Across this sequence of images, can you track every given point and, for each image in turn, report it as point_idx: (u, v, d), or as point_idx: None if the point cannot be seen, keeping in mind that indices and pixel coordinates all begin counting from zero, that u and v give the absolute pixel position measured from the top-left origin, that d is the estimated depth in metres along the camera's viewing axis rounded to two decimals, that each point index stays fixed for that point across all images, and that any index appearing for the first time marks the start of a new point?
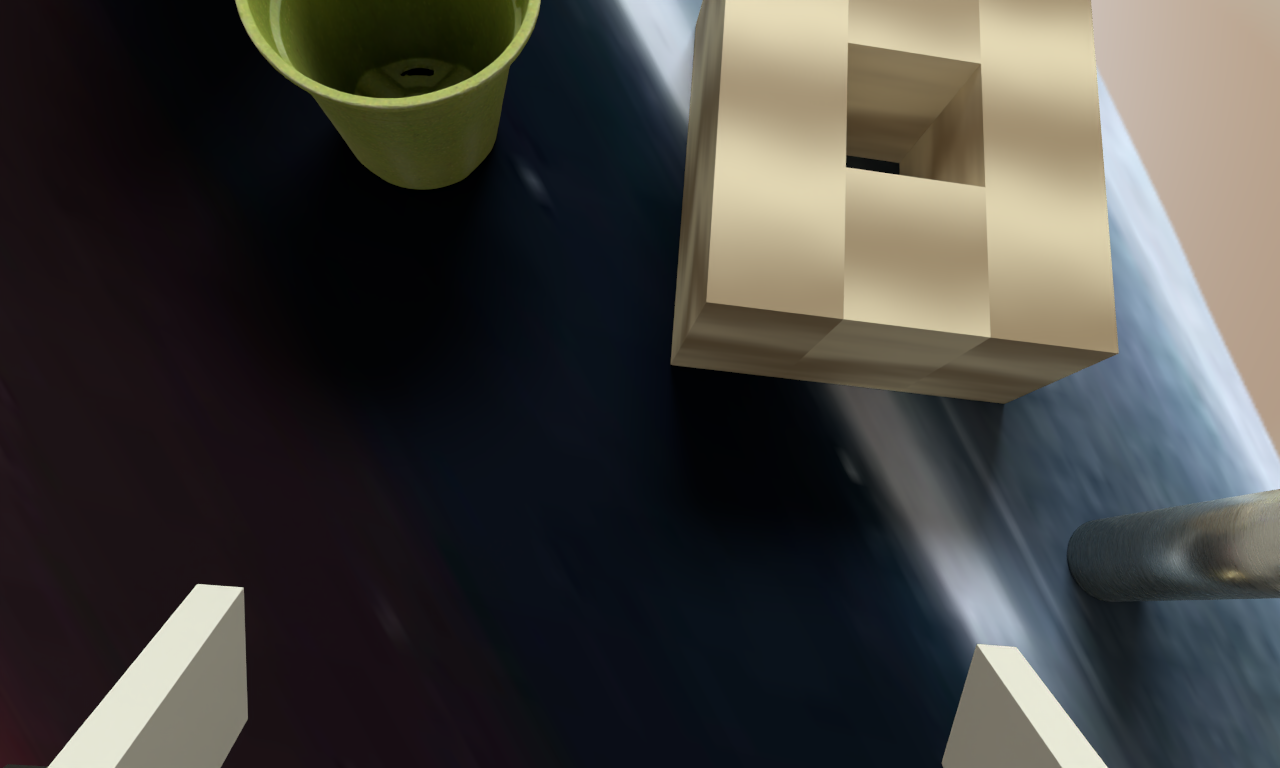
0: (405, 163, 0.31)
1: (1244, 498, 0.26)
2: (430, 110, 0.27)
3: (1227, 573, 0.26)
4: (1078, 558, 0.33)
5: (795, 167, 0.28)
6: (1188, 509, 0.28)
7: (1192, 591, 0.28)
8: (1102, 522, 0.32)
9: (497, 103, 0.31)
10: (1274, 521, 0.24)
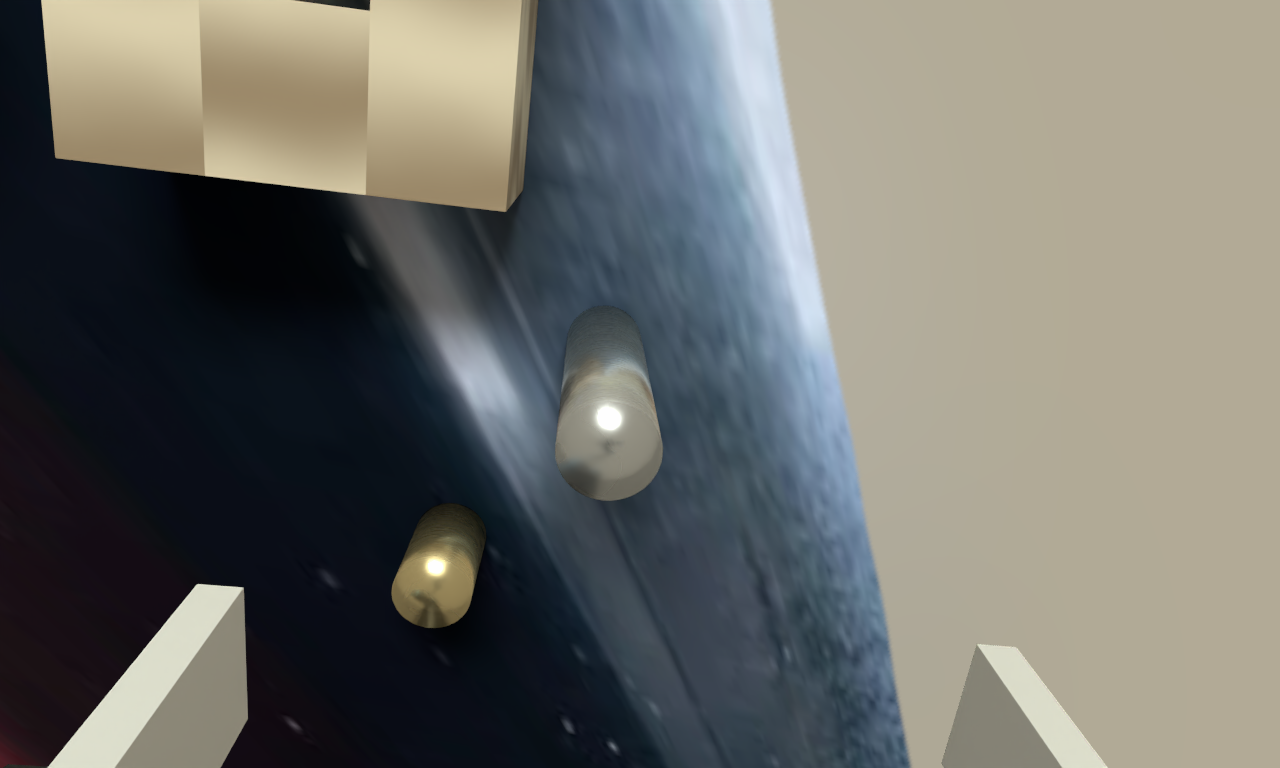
0: None
1: (585, 366, 0.28)
2: None
3: None
4: None
5: None
6: (582, 349, 0.30)
7: None
8: (584, 318, 0.35)
9: None
10: (561, 407, 0.27)
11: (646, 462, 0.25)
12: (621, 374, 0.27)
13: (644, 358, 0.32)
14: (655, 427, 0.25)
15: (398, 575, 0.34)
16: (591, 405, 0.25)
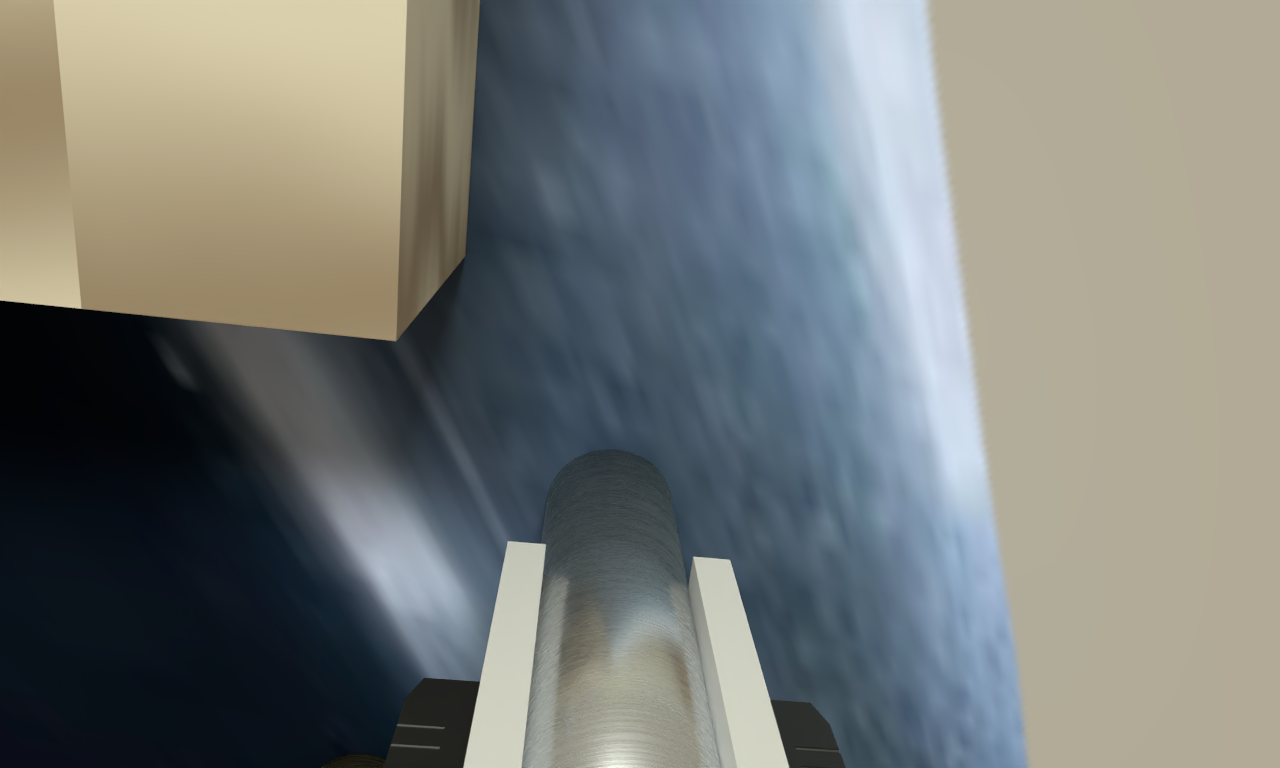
0: None
1: (570, 661, 0.13)
2: None
3: None
4: None
5: None
6: (567, 588, 0.15)
7: None
8: (575, 482, 0.20)
9: None
10: None
11: None
12: (649, 706, 0.12)
13: (685, 582, 0.17)
14: None
15: None
16: None
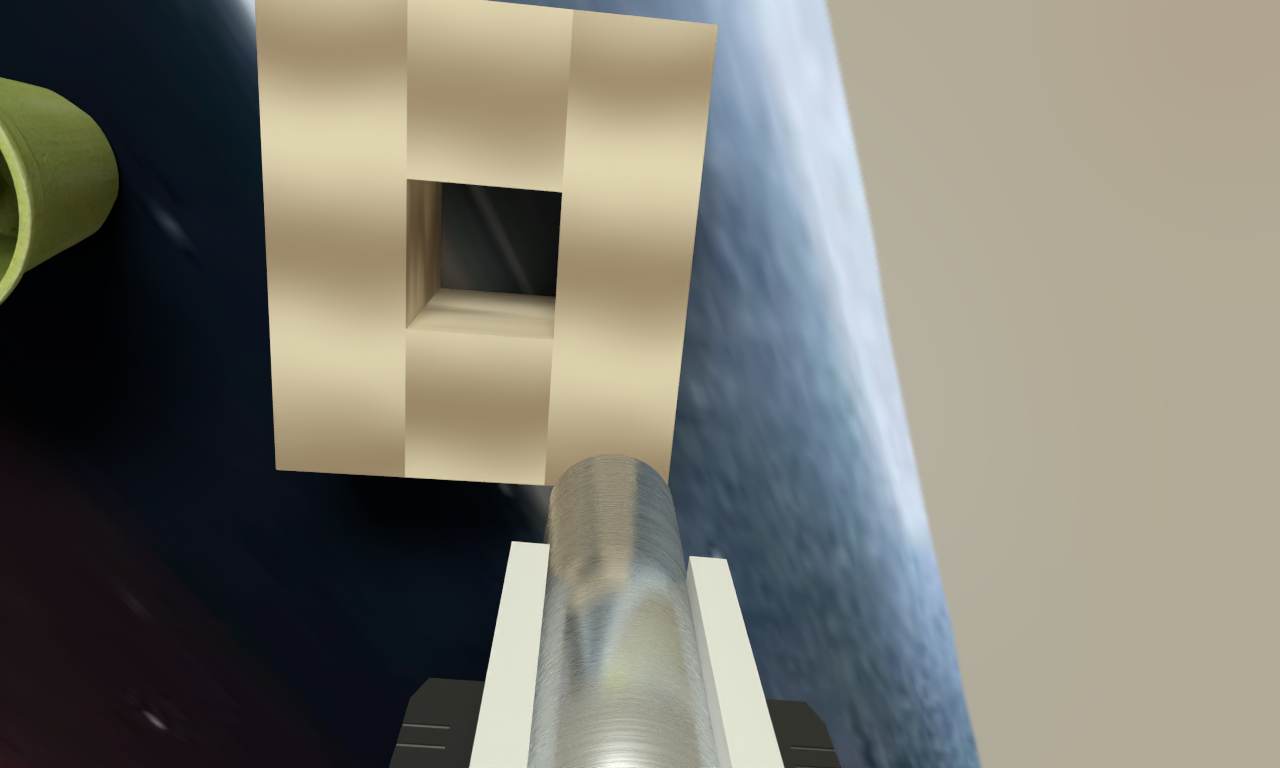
0: None
1: (570, 669, 0.13)
2: None
3: None
4: None
5: (353, 333, 0.29)
6: (567, 594, 0.15)
7: None
8: (575, 487, 0.20)
9: (71, 219, 0.30)
10: None
11: None
12: (650, 715, 0.12)
13: None
14: None
15: None
16: None
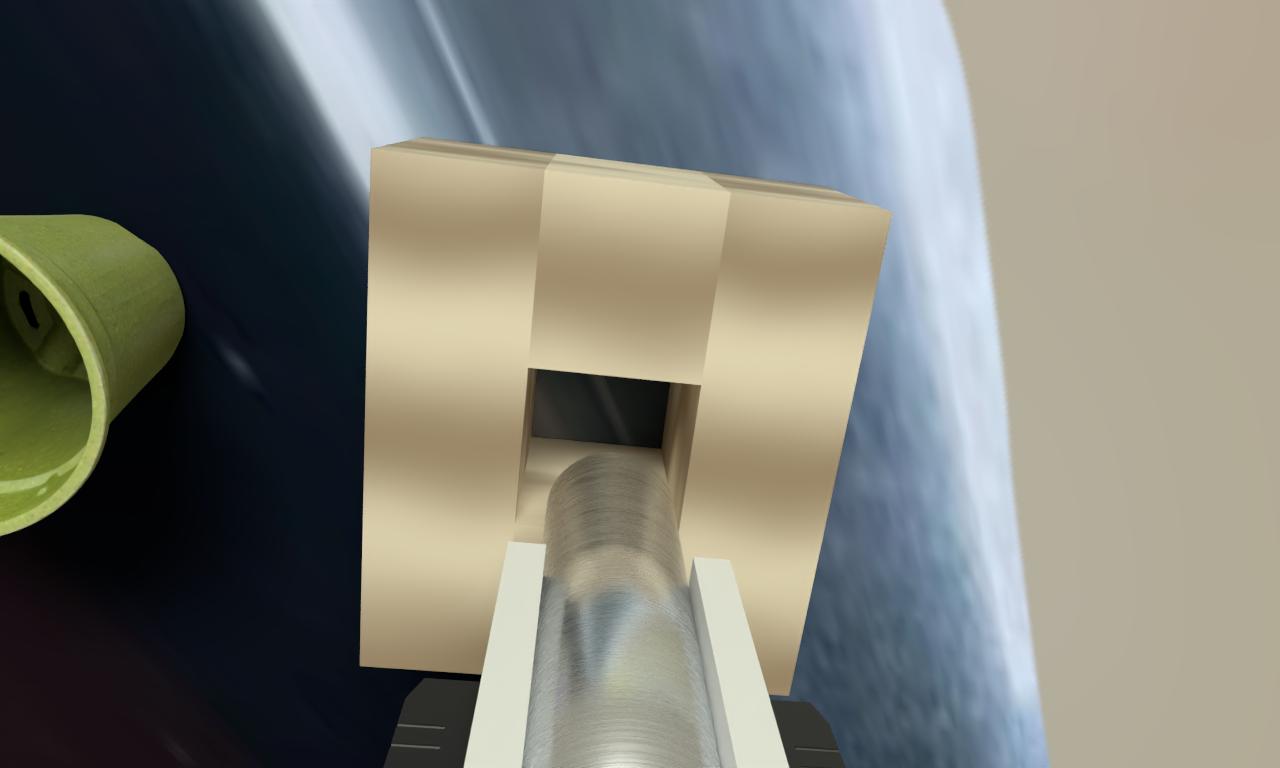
0: None
1: (569, 669, 0.13)
2: None
3: None
4: None
5: (456, 527, 0.25)
6: (566, 594, 0.15)
7: None
8: (574, 486, 0.19)
9: (138, 381, 0.26)
10: None
11: None
12: (649, 715, 0.12)
13: (686, 586, 0.17)
14: None
15: None
16: None
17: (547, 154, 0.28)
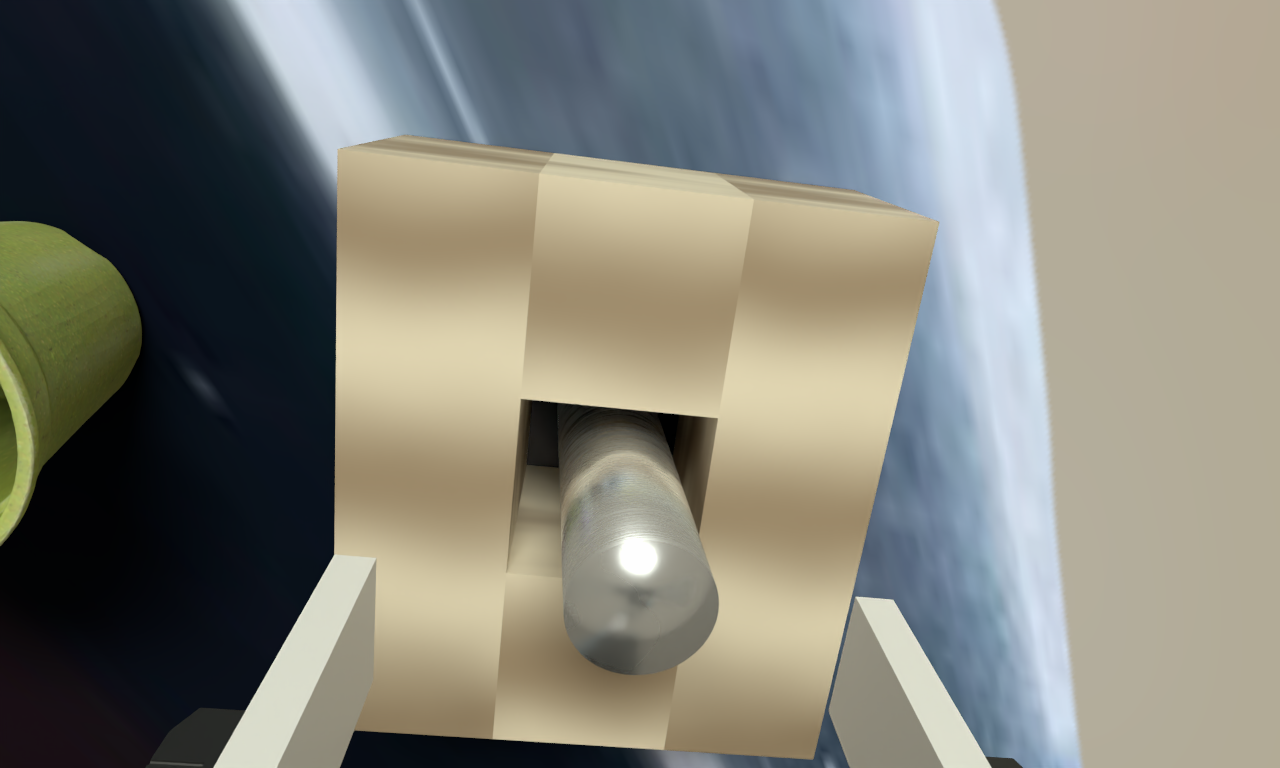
0: None
1: (594, 467, 0.20)
2: None
3: None
4: (557, 412, 0.28)
5: (440, 576, 0.22)
6: (585, 435, 0.23)
7: None
8: None
9: (83, 410, 0.23)
10: (565, 533, 0.19)
11: (695, 620, 0.17)
12: (648, 481, 0.19)
13: (665, 437, 0.24)
14: (708, 572, 0.17)
15: None
16: (615, 547, 0.17)
17: (543, 154, 0.25)
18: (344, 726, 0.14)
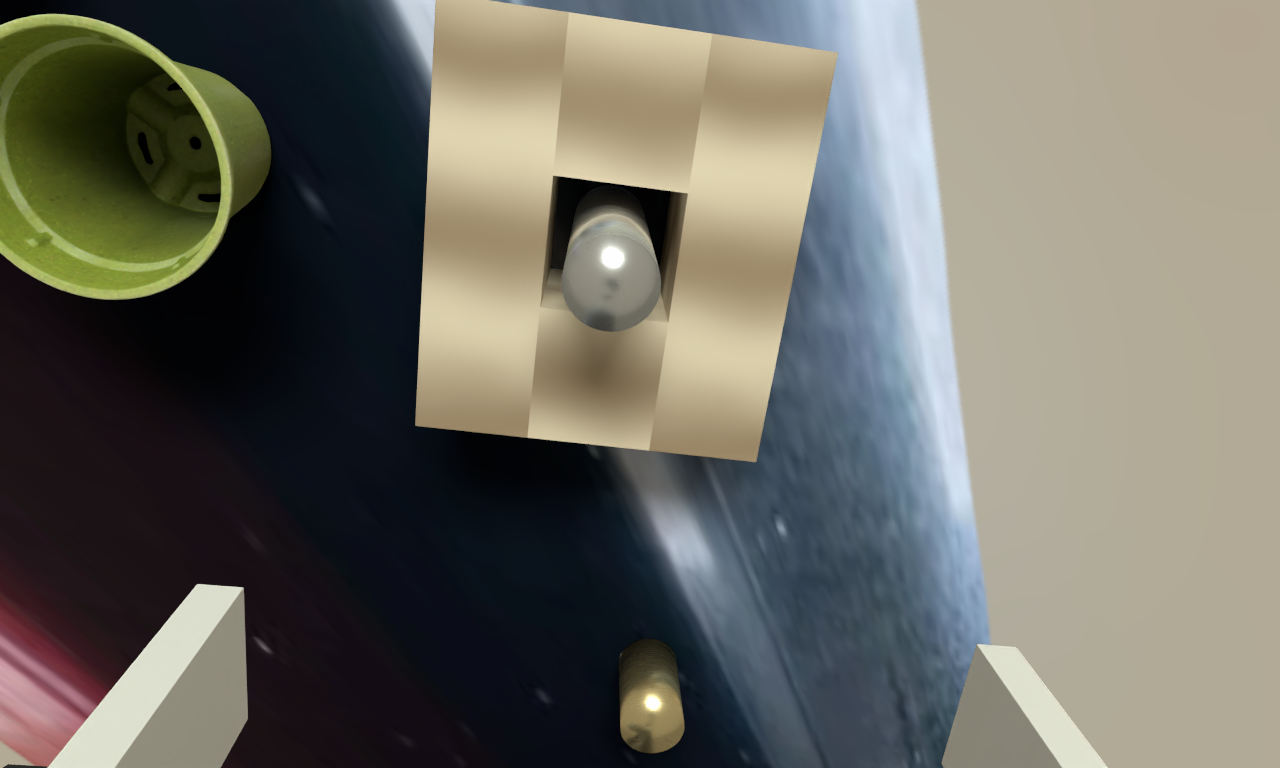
0: None
1: (589, 219, 0.30)
2: (162, 274, 0.31)
3: None
4: None
5: (494, 308, 0.32)
6: (587, 211, 0.32)
7: None
8: (590, 194, 0.37)
9: (242, 195, 0.33)
10: (567, 252, 0.29)
11: (646, 294, 0.27)
12: (623, 221, 0.29)
13: (646, 224, 0.34)
14: (654, 260, 0.27)
15: (627, 713, 0.42)
16: (594, 238, 0.27)
17: None
18: None
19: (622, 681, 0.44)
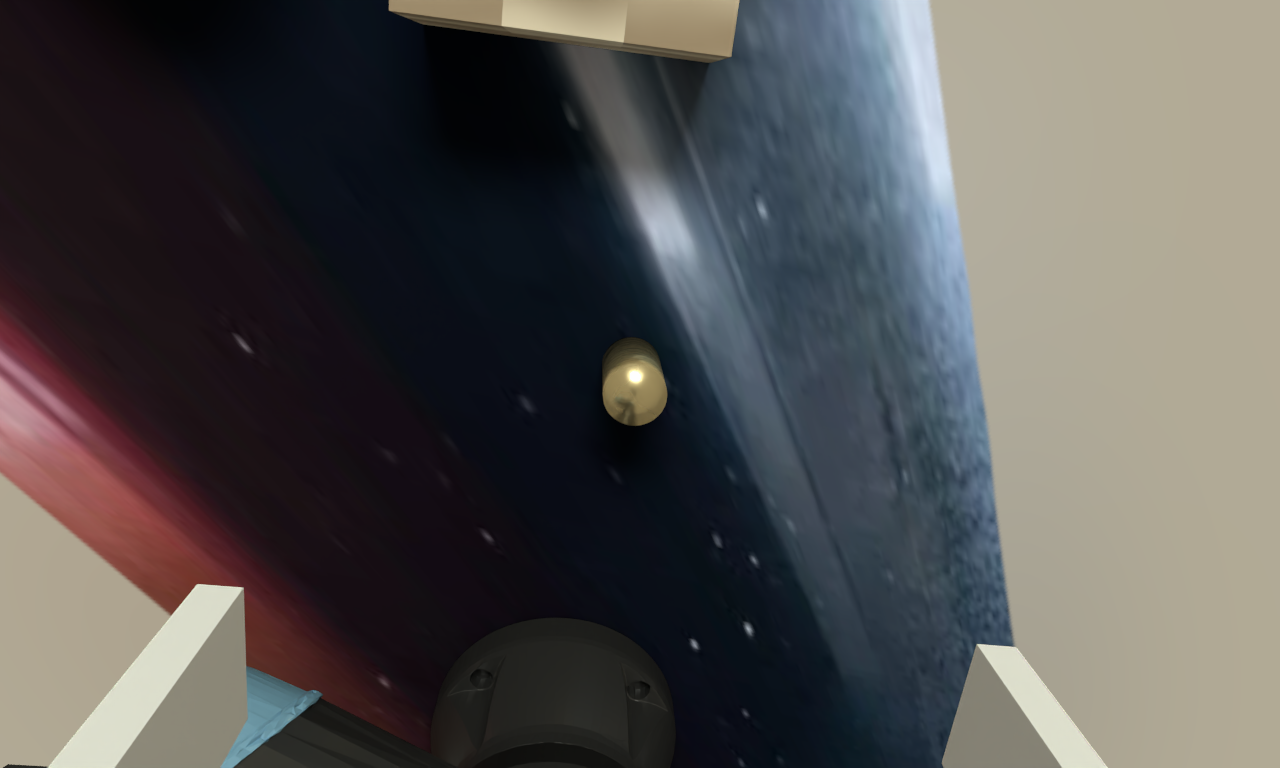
0: None
1: None
2: None
3: None
4: None
5: None
6: None
7: None
8: None
9: None
10: None
11: None
12: None
13: None
14: None
15: (609, 378, 0.41)
16: None
17: None
18: None
19: (605, 366, 0.44)
